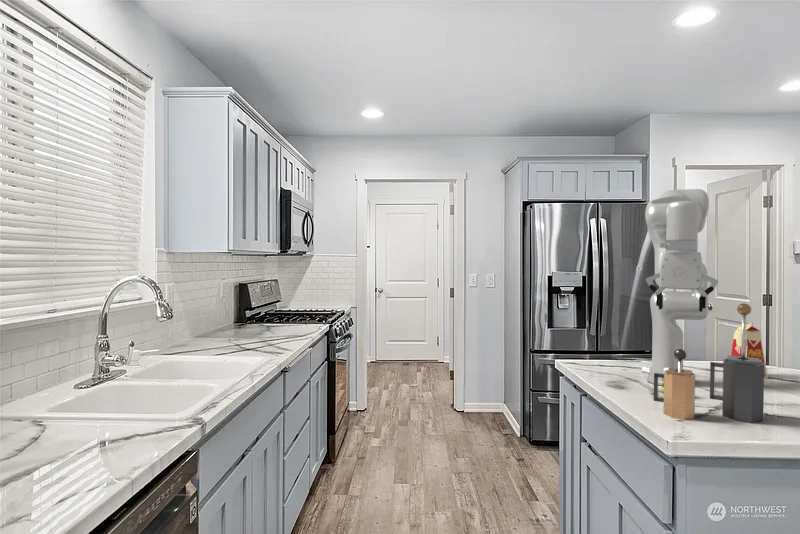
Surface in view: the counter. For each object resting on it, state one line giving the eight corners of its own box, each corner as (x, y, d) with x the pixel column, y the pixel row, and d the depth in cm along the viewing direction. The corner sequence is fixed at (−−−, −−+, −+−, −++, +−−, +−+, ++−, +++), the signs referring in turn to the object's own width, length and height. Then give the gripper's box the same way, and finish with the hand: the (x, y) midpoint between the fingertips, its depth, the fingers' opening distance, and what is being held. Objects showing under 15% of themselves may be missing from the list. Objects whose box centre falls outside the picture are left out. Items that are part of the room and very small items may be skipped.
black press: (709, 416, 137) (710, 358, 137) (710, 408, 145) (711, 353, 144) (763, 424, 131) (764, 363, 130) (761, 416, 138) (762, 358, 138)
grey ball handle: (672, 411, 138) (673, 349, 138) (673, 408, 140) (674, 347, 140) (685, 412, 136) (685, 350, 136) (685, 410, 139) (686, 348, 139)
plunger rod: (735, 380, 136) (737, 303, 136) (735, 378, 139) (736, 302, 139) (750, 382, 134) (751, 304, 134) (749, 379, 137) (751, 303, 137)
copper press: (652, 414, 139) (652, 370, 138) (655, 408, 145) (655, 365, 145) (693, 420, 133) (694, 374, 133) (695, 414, 139) (695, 370, 139)
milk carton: (768, 379, 184) (769, 323, 183) (742, 378, 184) (743, 323, 184) (750, 373, 193) (751, 320, 193) (726, 373, 193) (727, 320, 193)
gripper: (644, 247, 139) (643, 309, 140) (719, 247, 130) (717, 313, 131) (648, 247, 146) (647, 306, 146) (719, 247, 136) (718, 310, 137)
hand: (680, 309), depth 139 cm, fingers open, 9 cm apart
